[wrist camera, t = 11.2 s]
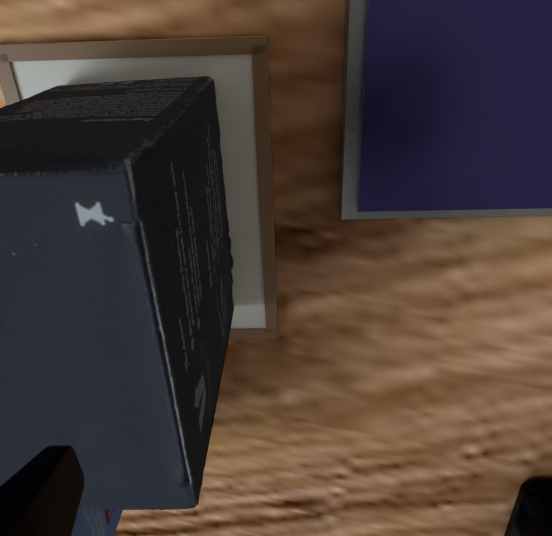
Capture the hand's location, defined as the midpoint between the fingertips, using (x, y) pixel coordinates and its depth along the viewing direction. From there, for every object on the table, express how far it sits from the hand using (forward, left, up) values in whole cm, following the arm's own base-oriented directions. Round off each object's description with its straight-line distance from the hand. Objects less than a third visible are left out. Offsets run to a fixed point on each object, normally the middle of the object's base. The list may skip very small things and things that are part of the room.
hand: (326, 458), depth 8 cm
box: (0, +6, -12) cm, 13 cm away
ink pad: (+4, -6, -12) cm, 14 cm away
